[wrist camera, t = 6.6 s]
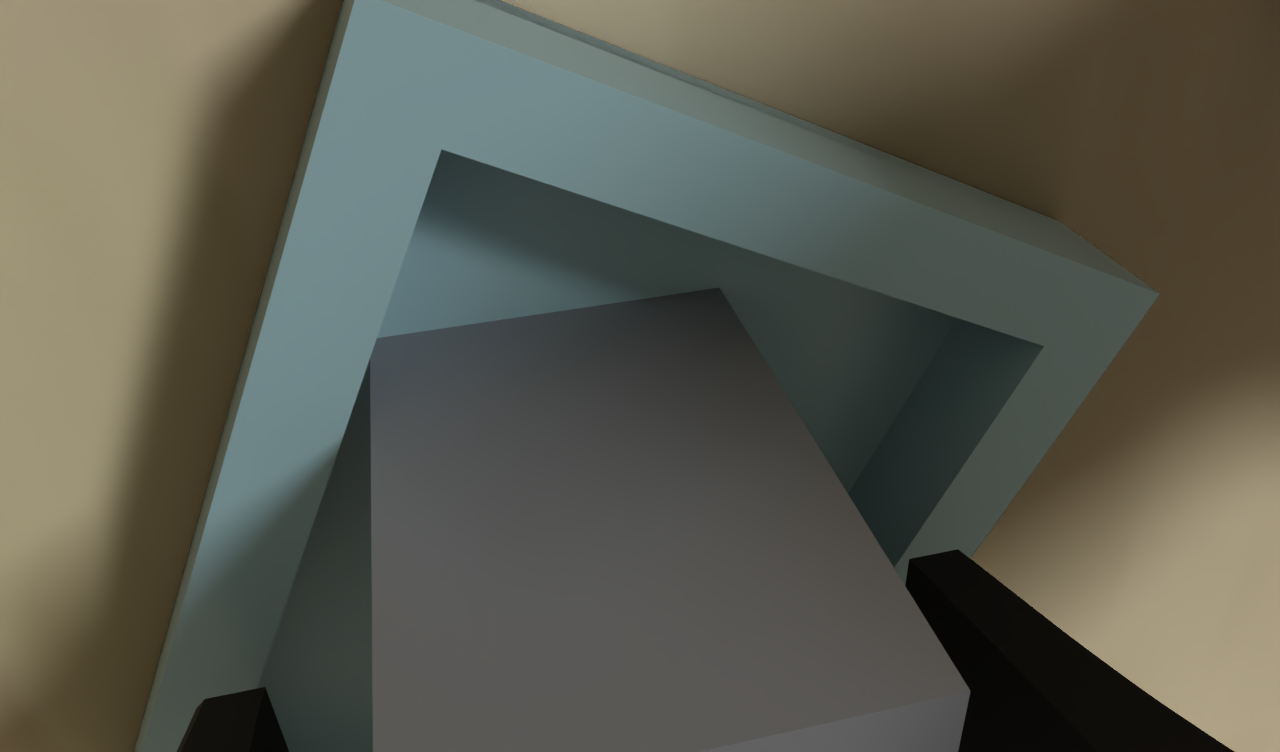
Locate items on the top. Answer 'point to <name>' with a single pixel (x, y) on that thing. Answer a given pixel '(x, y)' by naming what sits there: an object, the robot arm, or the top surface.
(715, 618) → the block
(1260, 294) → the top surface
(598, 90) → the service tray
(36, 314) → the top surface
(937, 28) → the top surface
